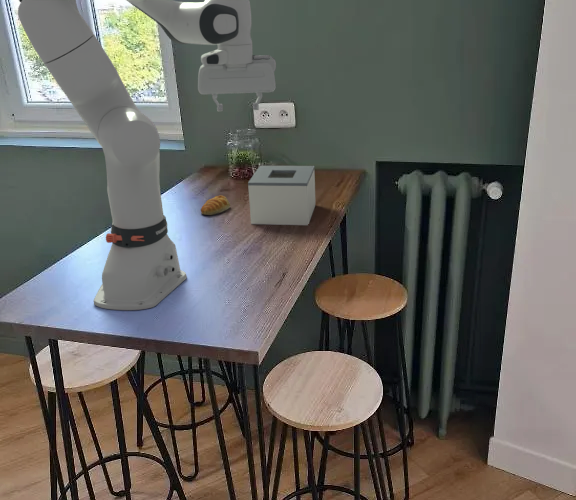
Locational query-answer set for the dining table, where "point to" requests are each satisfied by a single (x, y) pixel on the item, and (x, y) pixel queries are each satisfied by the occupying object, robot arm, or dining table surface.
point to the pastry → (215, 205)
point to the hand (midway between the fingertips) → (237, 110)
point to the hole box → (282, 195)
